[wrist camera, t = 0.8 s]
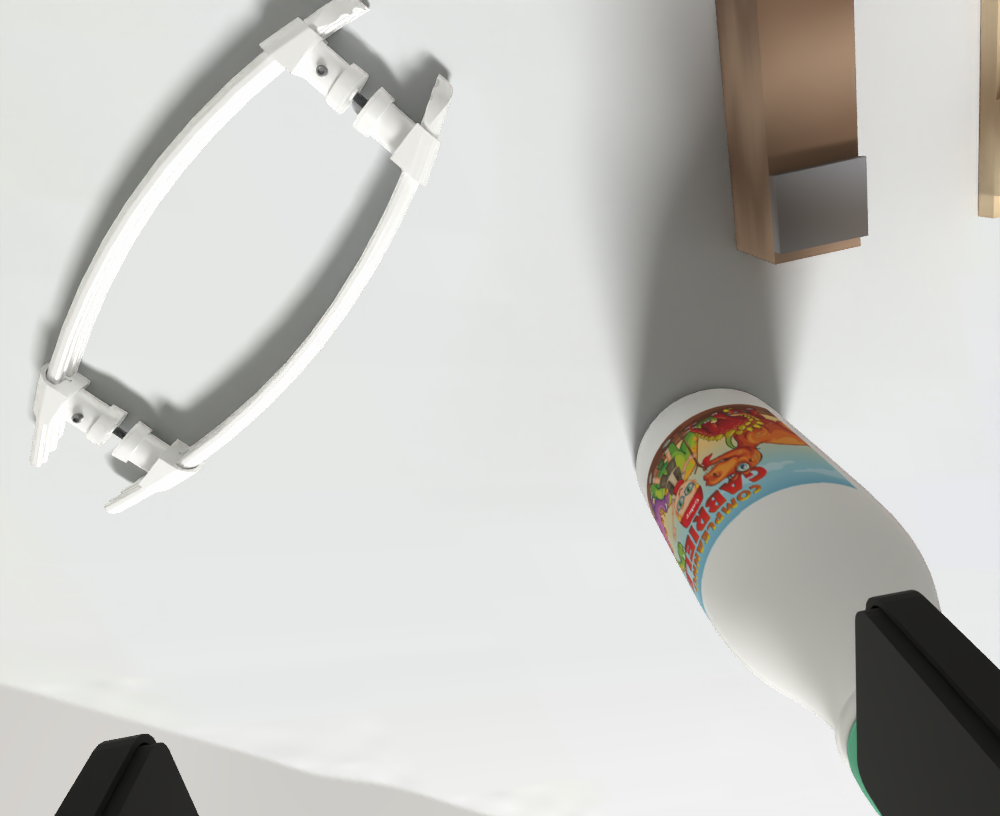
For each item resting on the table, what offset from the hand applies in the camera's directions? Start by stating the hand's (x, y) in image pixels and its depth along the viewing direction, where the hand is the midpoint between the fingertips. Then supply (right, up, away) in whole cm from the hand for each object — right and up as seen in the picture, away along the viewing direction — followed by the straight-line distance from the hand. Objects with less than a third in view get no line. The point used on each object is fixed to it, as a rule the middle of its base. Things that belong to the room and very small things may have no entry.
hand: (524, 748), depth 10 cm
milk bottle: (+10, +2, +27) cm, 29 cm away
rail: (+10, +21, +20) cm, 31 cm away
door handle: (-12, +11, +23) cm, 28 cm away
